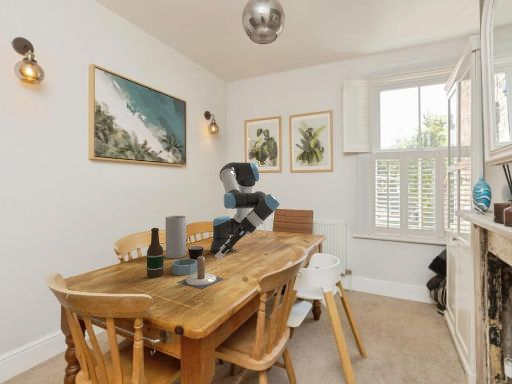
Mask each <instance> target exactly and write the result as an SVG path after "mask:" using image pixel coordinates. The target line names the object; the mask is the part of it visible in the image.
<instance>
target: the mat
mask: <svg viewBox="0 0 512 384" xmlns="http://www.w3.org/2000/svg"><path fill="white" fill-rule="evenodd" d="M224 280H225V278H223V277H219V276H216V281H215V282H214V283H212V284H210V285H205V286H192V285H188V284H187V283H186V278H183V279H181V280H180V281H176V282H175V283H177V284H180V285H184V286H186V287H187V286H188V287H190V288H195V289H197V290H201V291H203V290H205V289H206V288H208V287H211V286H213V285H215V284H217V283H219V282H221V281H224Z"/></svg>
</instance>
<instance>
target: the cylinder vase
mask: <svg viewBox="0 0 512 384" xmlns="http://www.w3.org/2000/svg"><path fill="white" fill-rule="evenodd" d="M186 256H187V216H186V215H169V216H166V217H165V257H166V258H167V259H181V258H184V257H186Z"/></svg>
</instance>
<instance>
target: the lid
mask: <svg viewBox="0 0 512 384" xmlns="http://www.w3.org/2000/svg"><path fill="white" fill-rule="evenodd" d="M216 277H217V276H216V275H215V274H212V273H206V257H205V256H200V257H197V272H196V273H193V274H190V275H187V277H185V279H186V283H187V284H188V285H192V286H205V285H210V284H212V283H214V282H215V281H216Z"/></svg>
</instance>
